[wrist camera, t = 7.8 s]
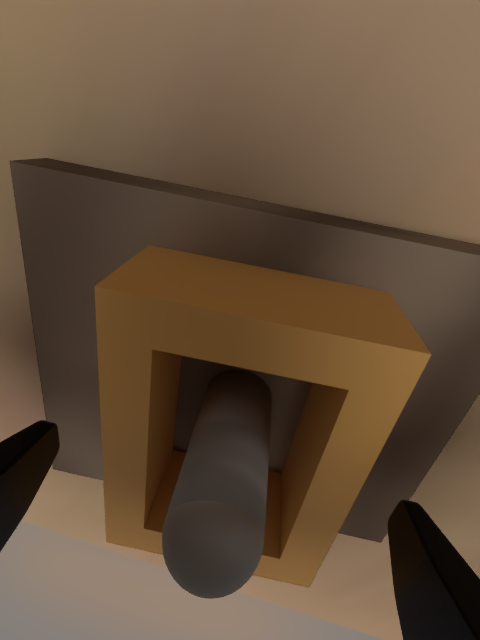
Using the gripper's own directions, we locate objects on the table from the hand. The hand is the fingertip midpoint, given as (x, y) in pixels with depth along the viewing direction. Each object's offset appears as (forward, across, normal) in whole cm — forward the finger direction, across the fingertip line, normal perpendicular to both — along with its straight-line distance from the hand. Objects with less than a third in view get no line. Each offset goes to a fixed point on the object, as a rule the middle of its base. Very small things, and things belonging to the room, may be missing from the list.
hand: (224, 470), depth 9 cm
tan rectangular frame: (+3, 0, 0) cm, 3 cm away
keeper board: (+4, 0, 0) cm, 4 cm away
